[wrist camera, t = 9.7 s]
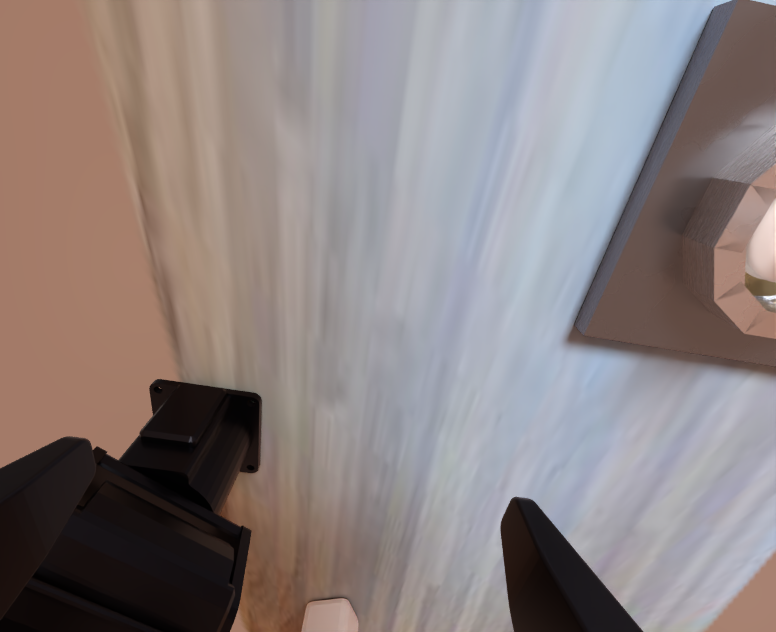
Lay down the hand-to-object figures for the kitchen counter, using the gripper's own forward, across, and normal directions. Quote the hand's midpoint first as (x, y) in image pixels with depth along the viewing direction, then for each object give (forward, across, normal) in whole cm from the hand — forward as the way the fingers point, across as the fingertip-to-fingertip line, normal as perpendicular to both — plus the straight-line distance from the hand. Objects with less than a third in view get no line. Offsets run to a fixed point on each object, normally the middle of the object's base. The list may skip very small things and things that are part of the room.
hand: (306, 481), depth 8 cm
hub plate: (+13, -19, -6) cm, 24 cm away
